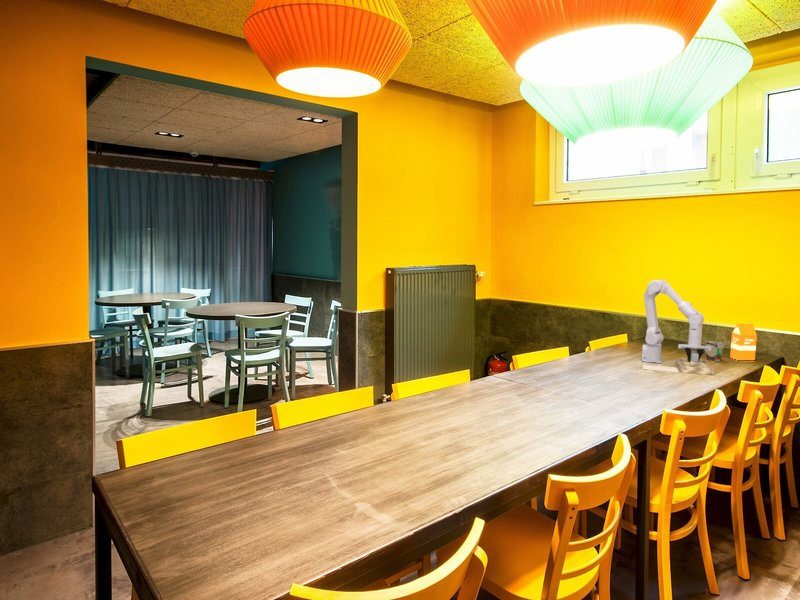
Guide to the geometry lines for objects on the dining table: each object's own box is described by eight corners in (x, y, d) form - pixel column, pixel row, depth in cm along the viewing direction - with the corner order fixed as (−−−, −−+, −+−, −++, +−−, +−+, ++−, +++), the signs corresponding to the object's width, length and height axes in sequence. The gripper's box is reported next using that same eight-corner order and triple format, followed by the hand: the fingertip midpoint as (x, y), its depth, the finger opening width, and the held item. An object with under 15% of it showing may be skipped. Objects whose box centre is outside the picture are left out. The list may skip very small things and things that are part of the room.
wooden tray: (680, 372, 258) (680, 364, 258) (675, 363, 278) (676, 355, 278) (713, 375, 253) (714, 367, 253) (706, 365, 273) (706, 358, 273)
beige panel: (643, 369, 263) (643, 368, 263) (642, 365, 273) (642, 364, 273) (678, 372, 258) (678, 372, 257) (676, 368, 267) (676, 367, 267)
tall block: (690, 369, 265) (691, 353, 264) (688, 365, 273) (689, 350, 272) (697, 369, 264) (698, 354, 263) (695, 366, 272) (696, 351, 271)
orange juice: (754, 361, 284) (757, 325, 282) (738, 361, 284) (741, 324, 282) (745, 358, 292) (748, 322, 290) (729, 358, 292) (732, 322, 290)
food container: (728, 363, 279) (729, 344, 278) (716, 363, 279) (718, 344, 278) (715, 358, 291) (716, 340, 290) (703, 358, 291) (705, 340, 290)
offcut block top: (690, 367, 258) (691, 363, 258) (689, 366, 262) (690, 361, 262) (701, 369, 256) (702, 364, 256) (700, 367, 260) (701, 362, 260)
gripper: (679, 337, 266) (678, 363, 267) (712, 339, 260) (710, 366, 262) (678, 335, 272) (676, 360, 274) (710, 337, 267) (708, 363, 268)
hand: (693, 363), depth 268 cm, fingers closed on tall block, 3 cm apart
